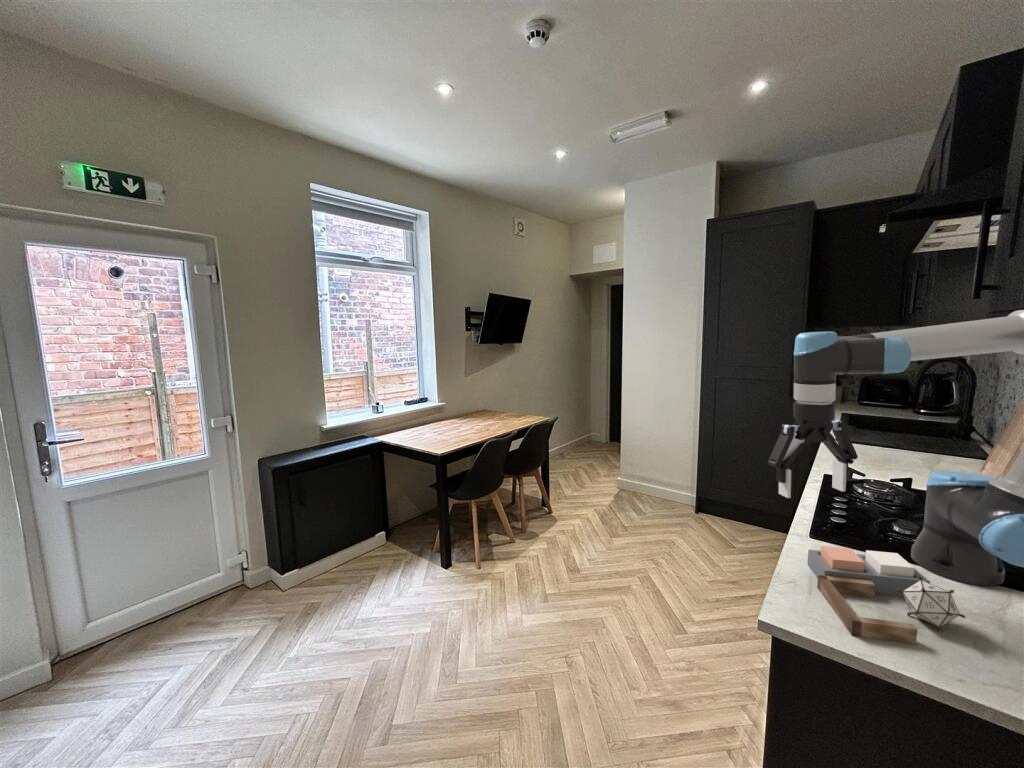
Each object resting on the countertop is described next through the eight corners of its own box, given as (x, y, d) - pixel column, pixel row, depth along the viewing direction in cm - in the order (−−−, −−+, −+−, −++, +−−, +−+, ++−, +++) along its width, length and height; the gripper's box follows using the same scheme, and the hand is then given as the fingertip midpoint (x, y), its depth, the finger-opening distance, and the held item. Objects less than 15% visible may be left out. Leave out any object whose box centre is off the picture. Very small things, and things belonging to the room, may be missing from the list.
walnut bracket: (870, 593, 89) (871, 580, 89) (916, 644, 75) (917, 629, 75) (817, 587, 92) (817, 575, 92) (851, 635, 78) (852, 620, 78)
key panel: (901, 574, 95) (902, 558, 95) (928, 598, 87) (929, 581, 86) (807, 564, 101) (808, 549, 100) (823, 586, 92) (824, 570, 92)
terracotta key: (849, 560, 97) (850, 548, 96) (863, 574, 91) (864, 562, 91) (820, 557, 98) (821, 545, 98) (832, 571, 93) (832, 559, 92)
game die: (914, 631, 83) (894, 577, 88) (974, 635, 78) (949, 577, 82) (908, 630, 78) (888, 572, 83) (972, 634, 72) (946, 572, 77)
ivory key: (896, 565, 94) (897, 553, 94) (913, 580, 89) (914, 567, 88) (865, 562, 96) (865, 550, 96) (879, 577, 90) (880, 564, 90)
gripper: (848, 394, 96) (845, 481, 98) (750, 403, 93) (750, 492, 96) (880, 399, 88) (876, 492, 91) (774, 409, 86) (773, 505, 88)
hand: (811, 492), depth 93 cm, fingers open, 13 cm apart
